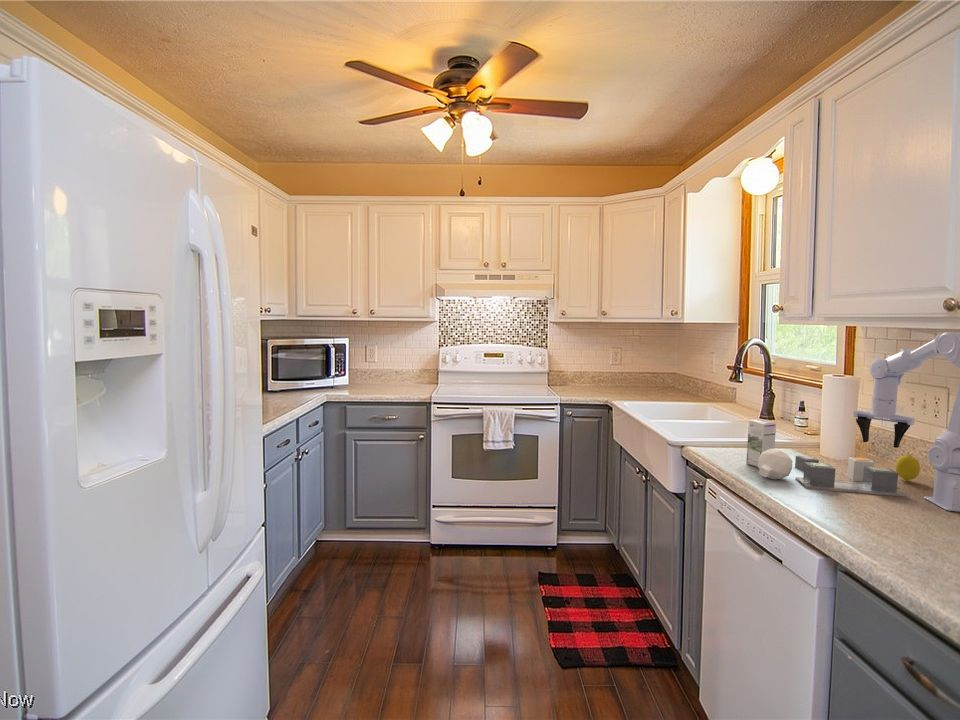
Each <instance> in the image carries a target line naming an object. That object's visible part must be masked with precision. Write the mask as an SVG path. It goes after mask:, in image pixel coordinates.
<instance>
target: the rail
mask: <svg viewBox="0 0 960 720" xmlns="http://www.w3.org/2000/svg"><path fill="white" fill-rule="evenodd" d="M836 469H837V468H835V467H834V466H832V465H831V464H829V463H822V462H819V463H811V462H804V472H803V475H802V477H800V476H799V477H798V476H795V480H794V481H796V482H797V483H799V484H800V485H801V486H802V487H803V488H805V489H807V490H818V491H820V490H821V491H832V492H844V493H857V494H868V495H880V496H893V497H903V498H904V497H907V493H906V492H904V491H902V490H900V489H899V488H898V481H899V475H898V473H897V472H896V470H895V471H894V470H892V469H891V468H889V467H878V466H877V467H876V466H874V467H865V466H864V471H863V482H862V481H852V480H851V481H848V480H836Z"/></svg>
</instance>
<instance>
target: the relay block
mask: <svg viewBox="0 0 960 720" xmlns="http://www.w3.org/2000/svg"><path fill="white" fill-rule="evenodd" d="M804 462H811V463H820V460H819V459H817V458H815V457H812V456H810V455H795V461H794V463H795V464H794V469H796V470H799V471H801V472H803V473H804Z"/></svg>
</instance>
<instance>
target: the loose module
mask: <svg viewBox="0 0 960 720" xmlns="http://www.w3.org/2000/svg"><path fill="white" fill-rule="evenodd" d="M864 466H865V467H875V462H874V461H873V460H871V459H869V458H866V457H865V458H864V457H851V456H849V457H848V458H847V467H846V468H847V469H846V478H848V479H849V480H851V482H863V471H864Z"/></svg>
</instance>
